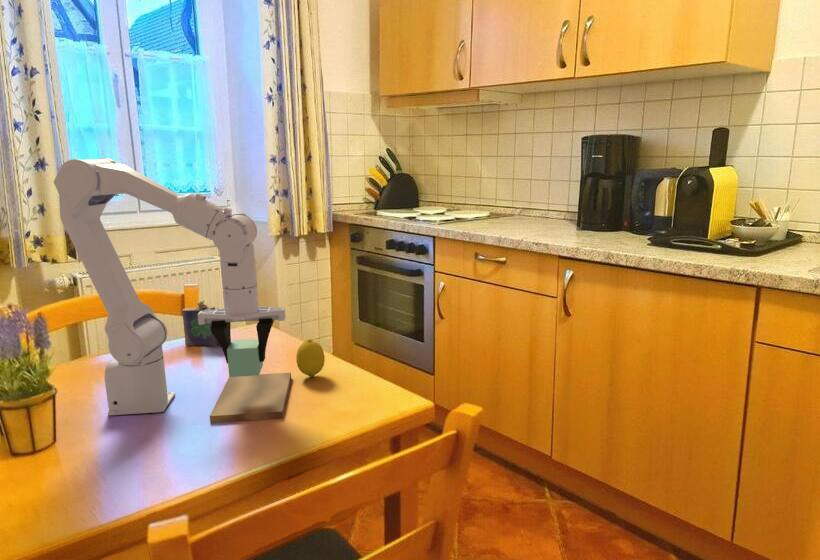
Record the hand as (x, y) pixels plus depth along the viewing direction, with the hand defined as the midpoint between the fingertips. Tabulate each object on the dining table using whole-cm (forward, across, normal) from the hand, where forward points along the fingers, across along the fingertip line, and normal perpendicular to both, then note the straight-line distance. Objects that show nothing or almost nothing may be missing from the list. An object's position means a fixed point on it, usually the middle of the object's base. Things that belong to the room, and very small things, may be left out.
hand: (246, 360), depth 105 cm
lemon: (+9, +10, +12) cm, 18 cm away
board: (+8, 0, +3) cm, 9 cm away
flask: (+9, -16, +36) cm, 40 cm away
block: (+2, 0, 0) cm, 2 cm away
